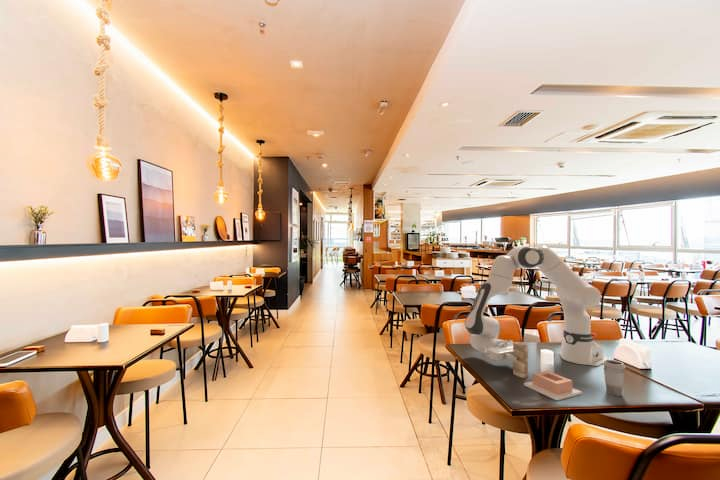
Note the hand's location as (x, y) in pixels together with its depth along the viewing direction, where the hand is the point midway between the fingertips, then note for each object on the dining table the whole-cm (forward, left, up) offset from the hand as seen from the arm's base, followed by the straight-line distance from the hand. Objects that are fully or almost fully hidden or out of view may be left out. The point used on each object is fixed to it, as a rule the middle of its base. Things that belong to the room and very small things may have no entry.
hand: (522, 357), depth 141 cm
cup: (-20, +25, -8) cm, 33 cm away
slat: (0, -1, -8) cm, 8 cm away
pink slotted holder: (0, +14, -8) cm, 16 cm away
